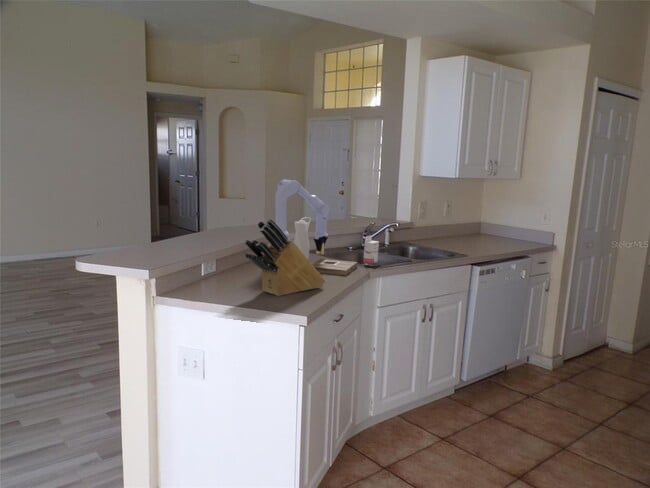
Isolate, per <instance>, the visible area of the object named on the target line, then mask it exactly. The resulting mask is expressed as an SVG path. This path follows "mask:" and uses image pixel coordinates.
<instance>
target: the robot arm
mask: <svg viewBox="0 0 650 488" xmlns="http://www.w3.org/2000/svg"><path fill="white" fill-rule="evenodd" d="M294 194H298V195H300V196H301V197H302V198H303V199H304V200H306V204H307V205H309V206H310V207H311V208H312V209H313V210H314V213H315V214H316V217H315V218H316V219H315V232H314V233H315V234H314V238H313V241H314V244H315V247H316V252H317V251H321V249H322V244H323V243H324V247H325V246H326V243H327V240H328V238H329V237H328V236H329V234H328V233H327V226H328V225H327V223H328V216H329V213H330V210H331V209H330V207H329V205H328V204H327V203H324V202H323V200H321V199H320V198H318V195H314V194H310V192H308V191H307V190H306V189H305V187H303V186H302V184H301V183H299V182H298V181H297V180H295V179H293V180H291V179H281V180H280V181H279V182H278V183H277V189H276V192H275V196H274V199H275V200H274V202H275V204H274V205H275V209H274V210H275V211H274V212H275V224H276V225H277V226H278V227H279V228H280V229H281V230H282V232H283V233H284V234H285V235H286V237H287V238H288V240H289V241H292V240H291V238H290V233H289V231H288V230H287V229H288V228H287V221H288V219H287V199H289V197H291V196H292V195H294Z"/></svg>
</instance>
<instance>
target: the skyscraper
mask: <svg viewBox="0 0 650 488" xmlns="http://www.w3.org/2000/svg"><path fill="white" fill-rule="evenodd" d="M304 219H309V221H308V222H306V220H304ZM311 220H312V218H311V217H309V216H304V217H302V218H301V219H299V220H297V221H296V220H295V221H294V229H295V235H294V239H293V242H294V243H295V244H296V246H297V247H298V248H299V249H300V250H301V252H302V253H303V254H304V255H305V256H306V258H307V259H308V260H309V258H310V257H309V255H310V240H309V234H308V232H309V229H310V228H309V227H310V223H311Z"/></svg>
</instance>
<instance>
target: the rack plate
mask: <svg viewBox="0 0 650 488" xmlns="http://www.w3.org/2000/svg"><path fill="white" fill-rule="evenodd" d="M311 264H312V265H313V266H314V268H315V269H316V270H317V271H318V272H319V274H327V275H338V276H345V277H346V276H347V275H349V274H350V273H352V272H353V271H354V270H356V268H358V262H357V261H348V260H337V259H327V258H326V259H325V258H319V259H318V260H316V261H314V262H311Z"/></svg>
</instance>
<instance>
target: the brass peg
mask: <svg viewBox="0 0 650 488" xmlns="http://www.w3.org/2000/svg"><path fill="white" fill-rule="evenodd" d="M324 254H325V246H324V243H323V244H322V249H321V251H317V250H316V255H324Z"/></svg>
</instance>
